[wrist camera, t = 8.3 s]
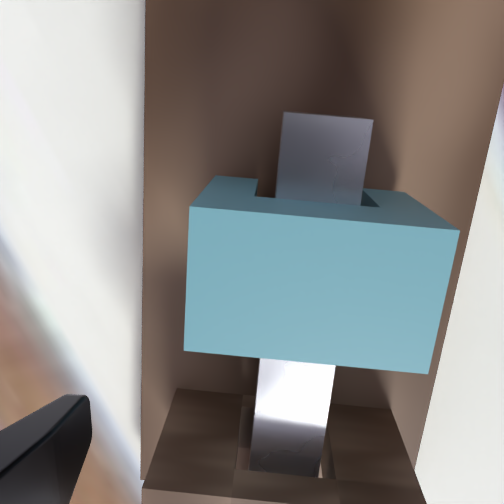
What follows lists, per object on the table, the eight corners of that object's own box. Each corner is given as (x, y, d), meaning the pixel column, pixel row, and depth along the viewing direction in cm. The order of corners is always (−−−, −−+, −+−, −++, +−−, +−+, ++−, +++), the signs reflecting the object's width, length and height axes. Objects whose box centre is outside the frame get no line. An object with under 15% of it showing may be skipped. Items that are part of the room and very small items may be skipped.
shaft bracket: (527, -114, 15) (720, -279, 9) (397, 481, 22) (447, 637, 16) (159, -141, 15) (72, -323, 9) (148, 456, 23) (97, 599, 16)
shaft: (384, 119, 16) (419, 124, 12) (302, 627, 23) (307, 732, 19) (252, 107, 16) (245, 109, 12) (213, 617, 23) (200, 719, 19)
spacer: (404, 192, 16) (460, 230, 11) (385, 297, 18) (428, 374, 13) (215, 175, 16) (189, 206, 12) (209, 281, 18) (183, 350, 13)
